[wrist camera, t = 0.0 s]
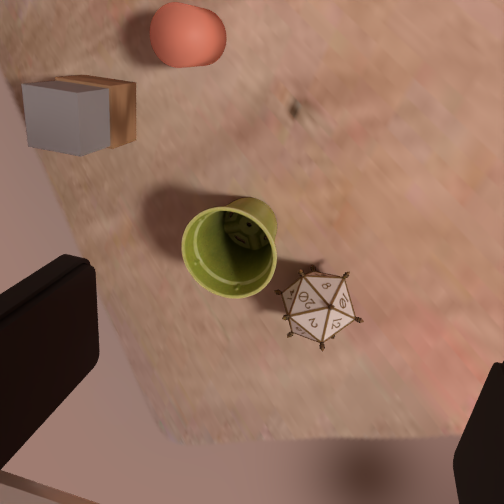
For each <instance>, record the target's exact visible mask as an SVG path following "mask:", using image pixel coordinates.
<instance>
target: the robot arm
mask: <svg viewBox="0 0 504 504" xmlns="http://www.w3.org/2000/svg"><path fill="white" fill-rule="evenodd" d="M98 358H99V333H98V313H97V292H96V273H95V269H94V267H93V266H91V265H90V262H89V260H87V259H85V258H81V257H76V256H72V255H67V254H63V255H61V256H59V257H58V258H56V259H55V260H53V261H52V262H50V263H49V264H47V265H45V266H44V267H42V268H41V269H39V270H38V271H36V272H34V273H33V274H31V275H30V276H28V277H27V278H25V279H23V280H22V281H20V282H19V283H17V284H16V285H14V286H13V287H11V288H9V289H8V290H6V291H5V292H3V293H2V294H0V504H99V503H96V502H93V501H90V500H87V499H84V498H81V497H78V496H75V495H72V494H70V493H67V492H64V491H61V490H58V489H55V488H52V487H49V486H46V485H43V484H40V483H37V482H34V481H31V480H28V479H25V478H23V477H19V476H17V475H13V474H11V473H8V472H5V471H2V470H1V469H2V468H3V466H4V465H5V464H6V463H7V462H8V461H9V460H10V459H11V458H12V457H13V456H14V454H15V453H16V452H17V451H18V450H19V449H20V448H21V447H22V446H23V445H24V444H25V442H26V441H27V440H28V439H29V438H30V437H31V436H32V435H33V434H34V432H35V431H36V430H37V429H38V428H39V427H40V426H41V425H42V424H43V423H44V422H45V420H46V419H47V418H48V417H49V416H50V415H51V414H52V413H53V412H54V411H55V409H56V408H57V407H58V406H59V405H60V404H61V403H62V402H63V401H64V399H65V398H66V397H67V396H68V395H69V394H70V393H71V392H72V391H73V390H74V388H75V387H76V386H77V385H78V384H79V383H80V382H81V381H82V380H83V379H84V378H85V377H86V375H87V374H88V373H89V372H90V371H91V370H92V369H93V368H94V366H95V365H96V363H97V361H98ZM453 470H454V476H455V482H456V488H457V494H458V499H459V504H504V361H503V363H498V362H496V363H494V364H493V366H492V368H491V370H490V372H489V374H488V377H487V379H486V381H485V384H484V386H483V388H482V391H481V393H480V395H479V397H478V400H477V402H476V404H475V407H474V409H473V411H472V414H471V416H470V418H469V421H468V423H467V425H466V427H465V430H464V432H463V434H462V437H461V439H460V441H459V444H458V446H457V448H456V451H455V454H454V459H453Z"/></svg>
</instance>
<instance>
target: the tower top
mask: <svg viewBox="0 0 504 504" xmlns="http://www.w3.org/2000/svg"><path fill="white" fill-rule="evenodd" d="M22 94H23V103H24V112H25V122H26V131H27V141H28V146H29V147H33V148H39V149H44V150H49V151H54V152H60V153H65V154H70V155H75V156H84V155H87V154H89V153H92V152H95V151H98V150H101V149H104V148H107V147H109V146H110V113H109V88H103V87H96V86H90V85H83V84H77V83H71V82H64V81H47V82H36V83H26V84H22Z"/></svg>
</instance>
